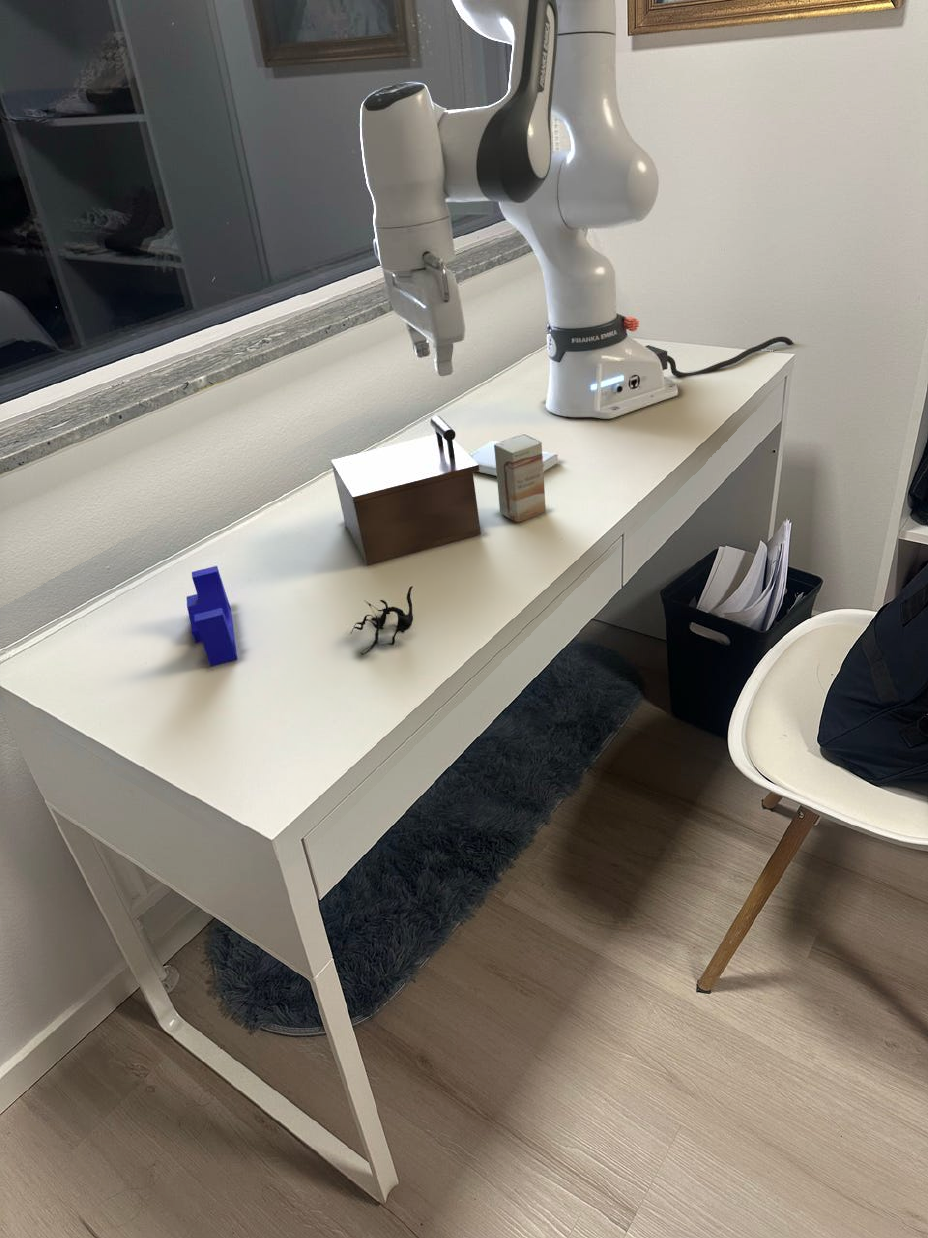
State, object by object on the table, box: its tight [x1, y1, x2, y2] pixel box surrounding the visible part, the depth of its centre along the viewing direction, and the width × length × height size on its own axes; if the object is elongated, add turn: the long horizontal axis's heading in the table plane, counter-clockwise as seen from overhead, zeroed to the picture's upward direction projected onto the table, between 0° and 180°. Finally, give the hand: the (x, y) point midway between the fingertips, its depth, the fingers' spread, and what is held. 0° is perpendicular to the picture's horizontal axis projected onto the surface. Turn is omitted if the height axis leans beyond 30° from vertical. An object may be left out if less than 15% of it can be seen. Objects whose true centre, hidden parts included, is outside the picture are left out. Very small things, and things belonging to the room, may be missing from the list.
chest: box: [332, 467, 482, 566], centre depth 118 cm, size 16×14×9 cm
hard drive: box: [468, 440, 559, 477], centre depth 134 cm, size 2×8×12 cm
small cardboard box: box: [494, 433, 547, 523], centre depth 118 cm, size 5×4×10 cm
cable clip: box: [186, 565, 238, 667], centre depth 102 cm, size 12×4×6 cm, turn 17°
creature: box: [349, 585, 414, 655], centre depth 98 cm, size 8×5×8 cm
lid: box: [330, 415, 479, 503], centre depth 115 cm, size 16×14×5 cm
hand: (433, 364), depth 110 cm, fingers open, 8 cm apart
